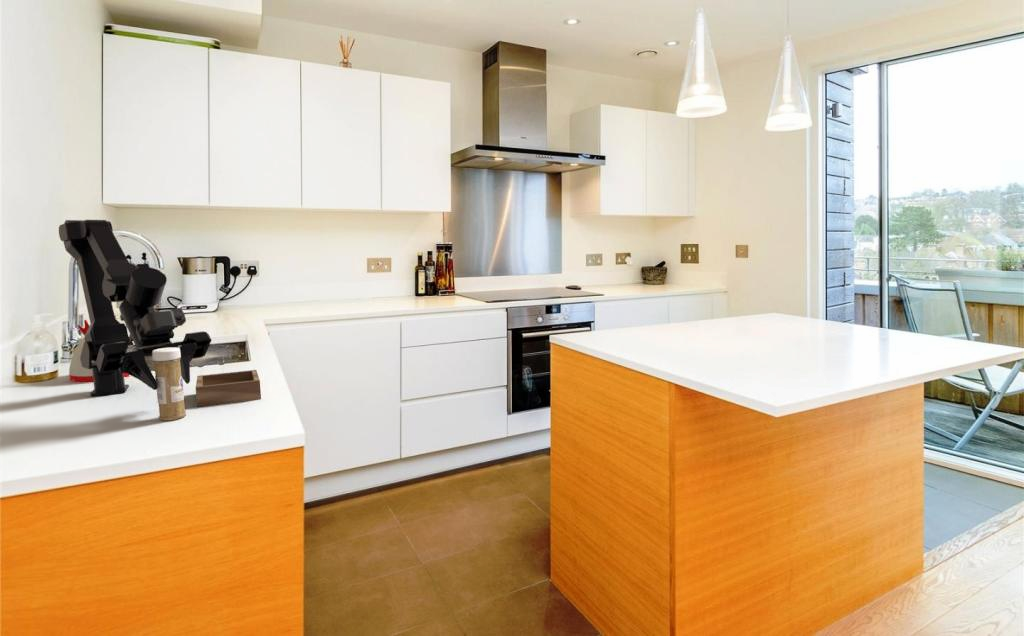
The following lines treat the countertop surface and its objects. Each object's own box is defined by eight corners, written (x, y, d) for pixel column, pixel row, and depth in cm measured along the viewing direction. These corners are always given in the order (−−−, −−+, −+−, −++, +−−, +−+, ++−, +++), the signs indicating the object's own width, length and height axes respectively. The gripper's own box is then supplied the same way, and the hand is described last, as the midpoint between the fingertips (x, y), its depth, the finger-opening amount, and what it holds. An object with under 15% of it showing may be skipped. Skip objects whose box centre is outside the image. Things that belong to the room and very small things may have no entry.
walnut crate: (198, 393, 128) (197, 375, 127) (257, 386, 133) (256, 369, 133) (197, 406, 117) (195, 387, 117) (261, 398, 123) (259, 380, 122)
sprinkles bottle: (187, 418, 109) (180, 349, 108) (159, 423, 107) (152, 352, 105) (185, 412, 113) (179, 345, 111) (158, 416, 111) (151, 348, 109)
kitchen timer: (75, 374, 149) (68, 317, 147) (138, 368, 155) (132, 313, 153) (65, 385, 137) (58, 323, 135) (134, 378, 143) (128, 319, 141)
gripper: (94, 300, 102) (124, 368, 97) (203, 291, 117) (234, 351, 111) (84, 339, 108) (112, 406, 103) (189, 326, 122) (218, 384, 117)
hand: (172, 385), depth 108 cm, fingers open, 5 cm apart
